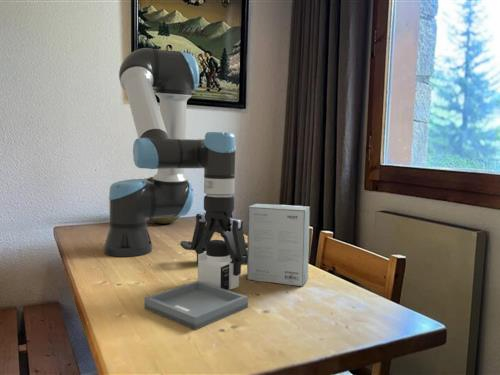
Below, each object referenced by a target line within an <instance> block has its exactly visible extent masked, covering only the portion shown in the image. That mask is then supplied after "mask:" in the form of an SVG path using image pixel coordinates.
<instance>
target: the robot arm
mask: <svg viewBox="0 0 500 375" xmlns="http://www.w3.org/2000/svg"><path fill="white" fill-rule="evenodd" d="M118 71H119V72H118V78H119V79H118V80H119V84H120V87H121V88H122V90H124V92H125V93H126V96H127V100H128V104H129V108H130V112H131V115H132V119H133V122H134V127H135V131H136V135H137V138H136V139H135V140H134V141H133V146H132V147H133V148H132V156H133V163H134V165H135V166H136V167H137V168H139V169H147V170H148V169H149V170H156V169H157V171H156V174H154V175H153V176H152V177H153V183H147V181H146V179H144V178H133V179H125V180H124V179H123V180H120V181H115V182H113V183H111V185H110V186H109V193H108V195H109V196H108V200H109V229H108V233H107V236H106V239H105V243H104V245H103V246H104V247H103V250H104V251H103V252H104V254H106V255H108V256H112V257H137V256H144V255H147V254H150V253H151V252H152V251H153V242H152V240H151V236H150V233H149V231H148V228H147V226H148V224H147V220H148V219H149V218H162V217H178V216H180V217H183V216H184V217H185V216H187V215H188V213H189V212H190V211H191V209H192V206H193V203H194V202H193V201H194V187H193V186H194V185H192V182H189V177H187V175H185V172H184V171H185V169H203V171H204V172H203V178H204V179H203V180H204V181H203V182H204V183H203V193H204V194H205V195H204V196H203V210H204V212H202V213H201V212H200V213H196V215H195V221H196V223H195V226H194V231H193V235H192V241H191V242H192V243H191V245H190V246H191V249H192V250H191V251H195V254H196V265H197V268H198V267H199V261H200V260H203V259H206V258H207V257H206V251H205V250H206V243H207V242H209V241H211V240H212V237H213V236H214V234H215V233H218V234H220V236H221V237H222V238H223V240H224V241H225V244H226V246H227V249H228V251H229V254H230V257H231V259H232V261H231V262H229V289H230V290H233V289H235V288H238V287H240V286H239V284H240V283H239V280H240V277H239V276H240V275H241V274H242V264H241V262H242V261H244V260H247V259H248V254H247V249H248V248H246V244H245V243H246V240H245V235H244V229H243V228H244V227H243V226H244V220H243V218H242V219H236V218H234V216H233V212H234V210H235V197H234V194H235V193H236V192H235V191H236V190H235V185H236V184H235V182H236V180H235V179H236V178H235V176H236V175H235V173H236V171H235V170H236V150H237V146H236V135H235V134H234V132H230V131H229V132H227V131H209V132H208V131H207V132H206V133H205V135H204V138H199V139H186V129H187V128H186V126H187V107H188V106H187V105H188V104H187V102H188V100H189V99H190V98H192V94H193V92H194V91H196V90H197V89H198V87H199V83H200V70H199V65H198V61H197V60H196V58H195V56H194V55H192V54H191V53H189V52H183V51H179V50H178V51H177V50H168V49H167V50H166V49H160V48H159V49H158V48H152V47H151V48H150V47H143V48H139V49H136V50H133V51H132V52H130V53H129V54H128V55H127V56H126V57H125V58H124V59H123V61H122V63H121V65H120V67H119V70H118ZM154 88H155V89H154ZM156 96H157V97H158V98H159V103H158V101H157V97H156ZM196 243H197V244H196Z"/></svg>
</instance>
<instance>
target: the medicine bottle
mask: <svg viewBox="0 0 500 375" xmlns="http://www.w3.org/2000/svg"><path fill="white" fill-rule="evenodd" d="M205 252H206V257H207V258H206V259H203V260H200V261H199V267H198V266H197V281H200V282H203V283H207V284H210V285H213V286H216V287H219V288H222V289H226V290H229V291H231V289H229V262H231V261H232V259H231V258H230V254H229V251H228V249H227V246H226V244H225V241H224V239H211V240H210V241H209V242H207V243H206V251H205Z"/></svg>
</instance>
